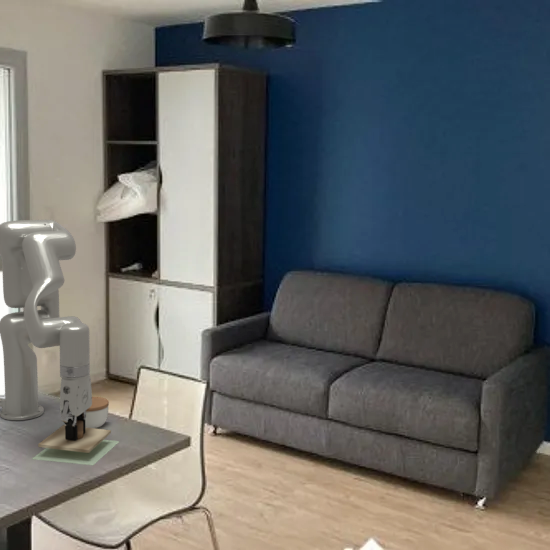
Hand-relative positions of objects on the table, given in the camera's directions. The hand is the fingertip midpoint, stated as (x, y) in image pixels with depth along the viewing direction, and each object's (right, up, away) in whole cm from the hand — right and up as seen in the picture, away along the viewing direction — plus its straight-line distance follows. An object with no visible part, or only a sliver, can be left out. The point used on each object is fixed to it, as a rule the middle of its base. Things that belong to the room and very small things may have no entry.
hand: (75, 435), depth 200 cm
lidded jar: (-1, -2, +20) cm, 20 cm away
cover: (0, -1, 0) cm, 1 cm away
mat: (0, -5, 0) cm, 5 cm away
